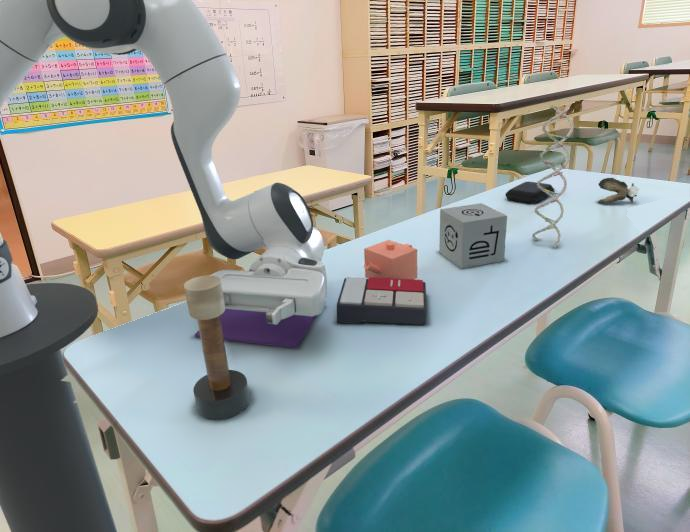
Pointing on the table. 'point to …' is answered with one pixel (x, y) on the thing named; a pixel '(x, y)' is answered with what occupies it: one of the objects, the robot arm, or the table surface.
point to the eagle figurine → (617, 190)
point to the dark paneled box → (382, 301)
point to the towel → (263, 328)
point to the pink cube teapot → (391, 261)
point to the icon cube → (472, 235)
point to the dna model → (554, 173)
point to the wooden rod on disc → (214, 353)
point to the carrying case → (528, 192)
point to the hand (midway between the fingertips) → (240, 316)
